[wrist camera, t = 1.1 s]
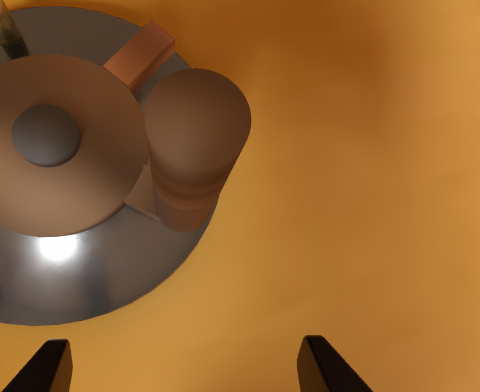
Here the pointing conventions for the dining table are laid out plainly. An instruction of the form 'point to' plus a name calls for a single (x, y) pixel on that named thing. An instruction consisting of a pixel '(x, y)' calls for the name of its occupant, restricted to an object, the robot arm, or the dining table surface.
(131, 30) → the post base
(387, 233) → the dining table surface
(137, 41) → the crank handle
